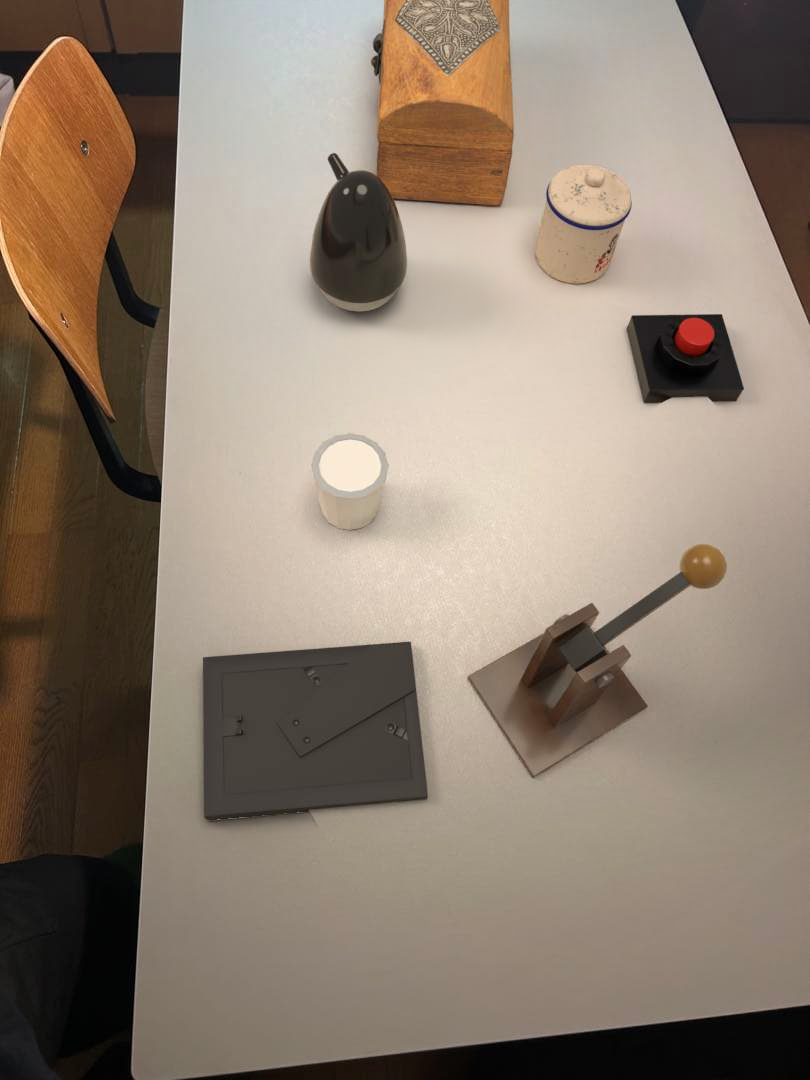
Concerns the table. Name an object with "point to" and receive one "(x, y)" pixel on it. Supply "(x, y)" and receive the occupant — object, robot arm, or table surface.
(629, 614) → the rod
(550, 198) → the teacup with lid
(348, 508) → the white cylinder
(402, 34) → the wooden box
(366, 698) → the picture frame
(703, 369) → the button box
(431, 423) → the table surface
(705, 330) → the button
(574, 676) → the bracket
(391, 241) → the pump dispenser
